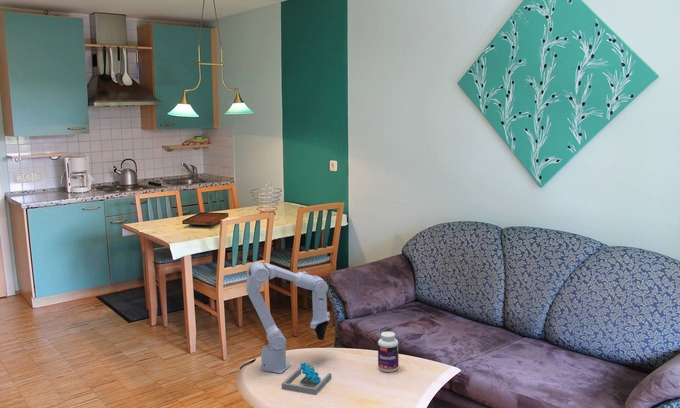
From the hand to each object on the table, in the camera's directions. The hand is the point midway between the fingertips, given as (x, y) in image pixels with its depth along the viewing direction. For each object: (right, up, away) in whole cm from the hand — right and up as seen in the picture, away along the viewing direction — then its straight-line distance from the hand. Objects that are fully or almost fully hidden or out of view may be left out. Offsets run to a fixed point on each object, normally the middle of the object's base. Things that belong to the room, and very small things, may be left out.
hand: (320, 339), depth 242 cm
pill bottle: (+27, -10, -7) cm, 30 cm away
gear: (-3, -13, -17) cm, 21 cm away
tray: (-4, -12, -17) cm, 21 cm away
